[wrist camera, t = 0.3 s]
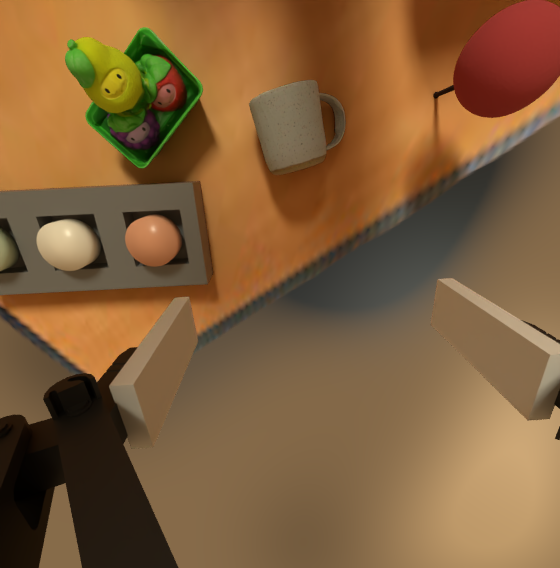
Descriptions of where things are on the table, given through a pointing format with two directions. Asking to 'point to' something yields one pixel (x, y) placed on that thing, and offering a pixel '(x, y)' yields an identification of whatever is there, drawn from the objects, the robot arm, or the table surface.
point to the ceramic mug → (294, 126)
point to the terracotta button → (153, 240)
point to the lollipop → (509, 60)
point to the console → (105, 236)
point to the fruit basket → (134, 92)
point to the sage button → (7, 250)
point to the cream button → (68, 244)
